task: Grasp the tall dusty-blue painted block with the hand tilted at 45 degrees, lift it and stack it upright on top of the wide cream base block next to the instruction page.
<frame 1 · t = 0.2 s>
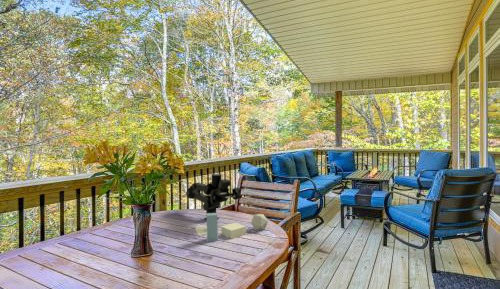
hand: (234, 198, 156), 17 cm above the table, tool horizontal, fingers open, 9 cm apart
die: (259, 229, 157), on the table
base brick: (233, 234, 149), on the table
blue brick: (212, 239, 143), on the table
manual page: (204, 230, 156), on the table
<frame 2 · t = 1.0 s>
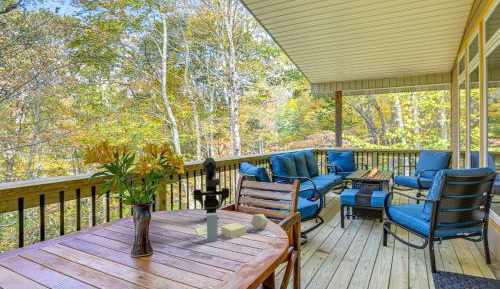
hand: (212, 207, 150), 14 cm above the table, tool tilted 45°, fingers open, 9 cm apart
nothing on the table moved.
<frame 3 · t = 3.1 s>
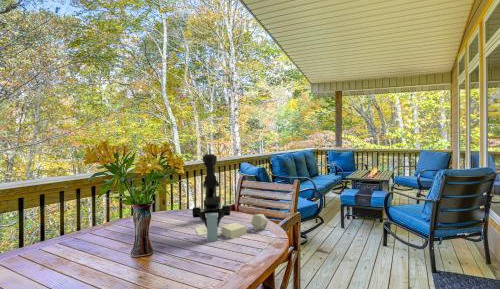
hand: (212, 227, 141), 7 cm above the table, tool tilted 45°, fingers closed on blue brick, 5 cm apart
blue brick: (212, 239, 143), on the table, touching gripper
everything else where it was.
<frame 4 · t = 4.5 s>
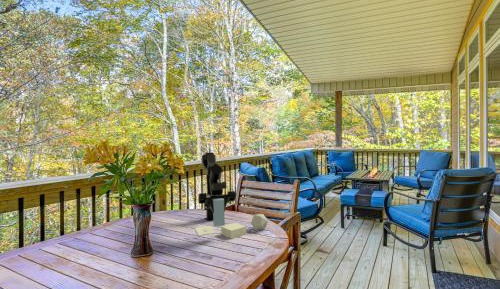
hand: (219, 212, 143), 13 cm above the table, tool tilted 45°, fingers closed on blue brick, 5 cm apart
blue brick: (219, 224, 144), point 7 cm above the table, touching gripper
everything else where it was.
when the fingers open (11 cm above the table, at t = 5.9 s): blue brick stays where it is, resting on base brick.
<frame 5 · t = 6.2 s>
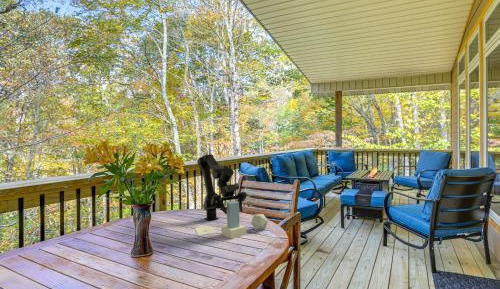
hand: (234, 212, 148), 12 cm above the table, tool tilted 45°, fingers open, 8 cm apart
blue brick: (233, 226, 149), point 4 cm above the table, touching base brick
everything else where it was.
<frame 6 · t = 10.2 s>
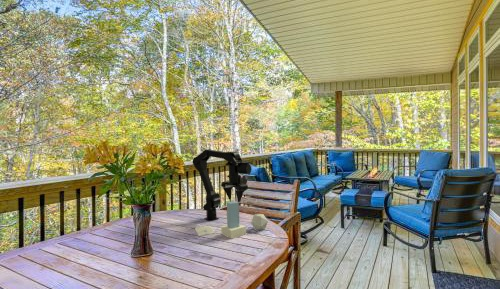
hand: (234, 200, 168), 13 cm above the table, tool pointing down, fingers open, 9 cm apart
nothing on the table moved.
at the end: blue brick 0.0 cm off-centre on the base brick, point 4.0 cm above the base brick's base; blue brick tilted 0°; the gripper is holding nothing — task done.
